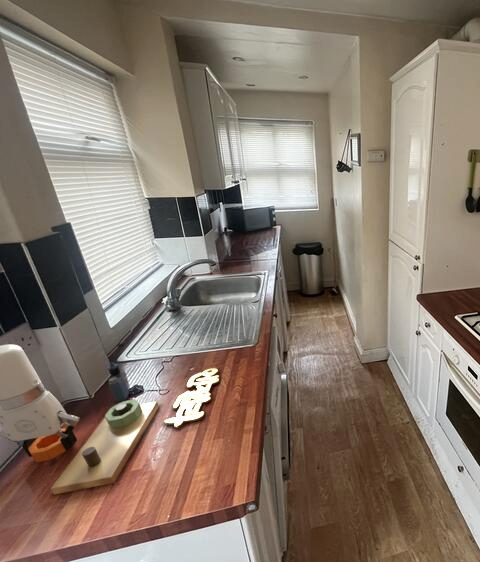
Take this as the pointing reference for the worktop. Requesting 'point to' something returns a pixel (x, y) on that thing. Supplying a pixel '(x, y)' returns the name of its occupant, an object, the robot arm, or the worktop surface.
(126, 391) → the vaping device
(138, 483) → the worktop surface
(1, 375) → the robot arm
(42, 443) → the orange ring
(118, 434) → the peg board
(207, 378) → the lettering
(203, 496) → the worktop surface
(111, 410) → the green ring
